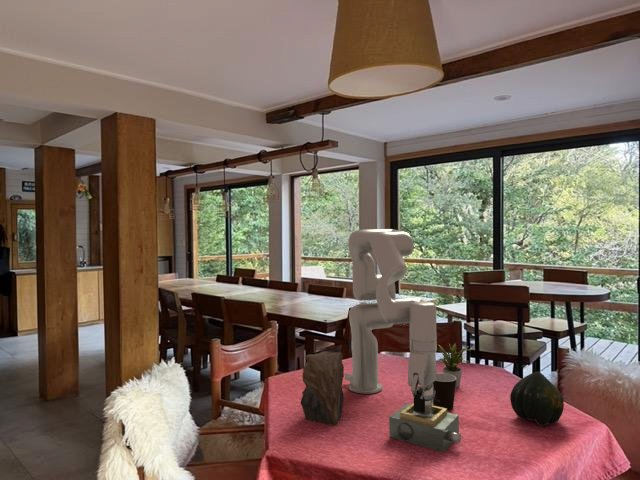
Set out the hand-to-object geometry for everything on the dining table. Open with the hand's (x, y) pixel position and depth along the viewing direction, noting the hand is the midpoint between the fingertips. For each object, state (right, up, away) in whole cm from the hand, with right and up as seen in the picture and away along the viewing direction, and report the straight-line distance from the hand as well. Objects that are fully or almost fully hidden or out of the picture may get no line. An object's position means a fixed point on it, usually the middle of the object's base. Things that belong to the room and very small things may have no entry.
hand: (423, 407), depth 132 cm
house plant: (+21, -7, +41) cm, 46 cm away
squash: (+37, -8, +10) cm, 39 cm away
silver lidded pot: (0, -1, 0) cm, 1 cm away
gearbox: (+1, -8, -1) cm, 8 cm away
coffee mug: (+12, -8, +23) cm, 27 cm away
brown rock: (-28, -9, +14) cm, 32 cm away
